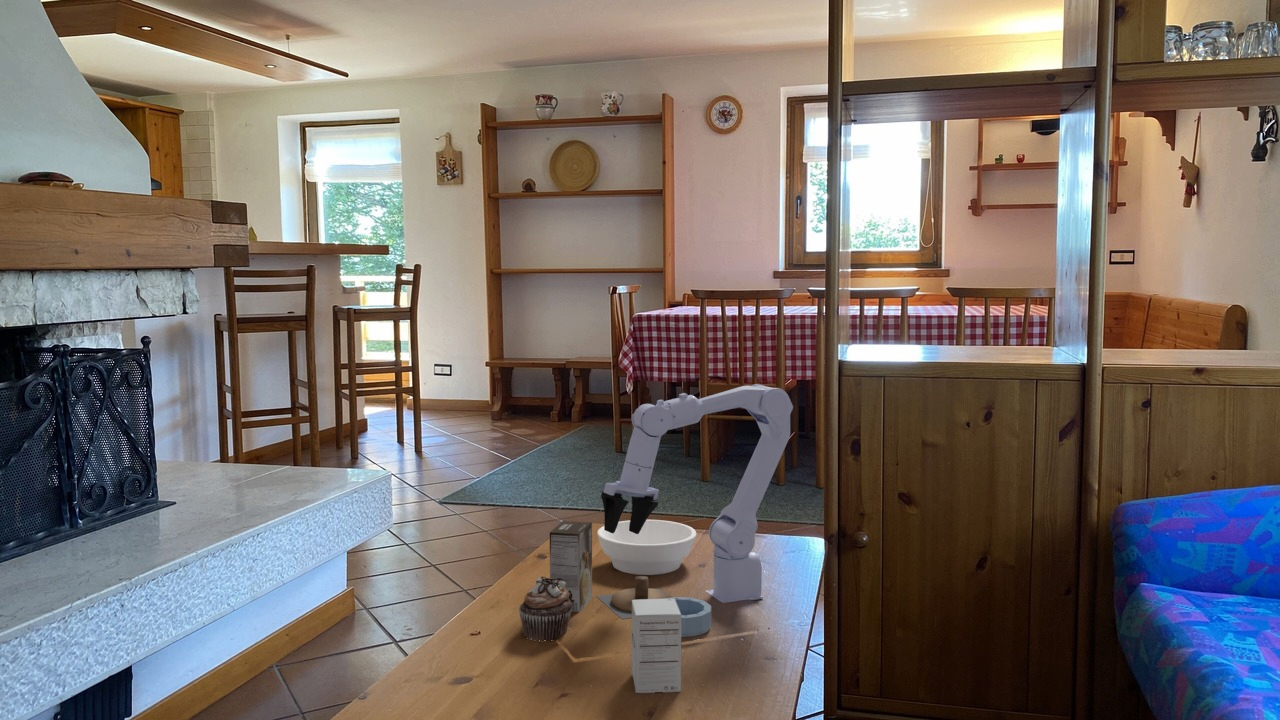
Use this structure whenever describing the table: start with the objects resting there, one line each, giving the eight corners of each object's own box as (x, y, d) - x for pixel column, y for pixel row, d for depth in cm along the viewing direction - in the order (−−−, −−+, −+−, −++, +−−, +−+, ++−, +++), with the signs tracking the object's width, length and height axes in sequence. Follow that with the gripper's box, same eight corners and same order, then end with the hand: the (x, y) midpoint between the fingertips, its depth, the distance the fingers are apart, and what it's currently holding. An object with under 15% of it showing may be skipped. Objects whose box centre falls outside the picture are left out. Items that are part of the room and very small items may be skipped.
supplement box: (630, 674, 148) (630, 598, 147) (675, 673, 148) (676, 597, 147) (634, 694, 140) (634, 614, 139) (681, 692, 141) (682, 613, 140)
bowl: (661, 548, 221) (662, 515, 220) (716, 573, 202) (716, 536, 201) (579, 562, 209) (579, 526, 209) (628, 589, 190) (629, 550, 189)
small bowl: (694, 614, 175) (694, 594, 175) (721, 634, 165) (721, 612, 165) (642, 622, 171) (642, 601, 171) (666, 643, 161) (666, 621, 160)
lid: (656, 589, 188) (657, 566, 187) (681, 608, 177) (682, 583, 176) (602, 597, 183) (602, 572, 183) (624, 616, 172) (625, 591, 172)
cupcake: (523, 623, 170) (523, 571, 169) (574, 624, 170) (574, 572, 169) (514, 643, 160) (514, 587, 160) (568, 644, 160) (568, 588, 159)
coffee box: (562, 597, 185) (562, 519, 184) (592, 599, 183) (592, 521, 182) (548, 612, 176) (548, 531, 175) (580, 615, 174) (580, 533, 173)
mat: (659, 590, 189) (659, 587, 189) (688, 612, 176) (688, 609, 176) (596, 599, 184) (596, 596, 184) (621, 622, 171) (621, 619, 171)
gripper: (646, 462, 185) (629, 526, 185) (600, 456, 174) (582, 524, 174) (672, 471, 181) (655, 537, 181) (627, 465, 170) (609, 536, 169)
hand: (621, 532), depth 177 cm, fingers open, 7 cm apart
